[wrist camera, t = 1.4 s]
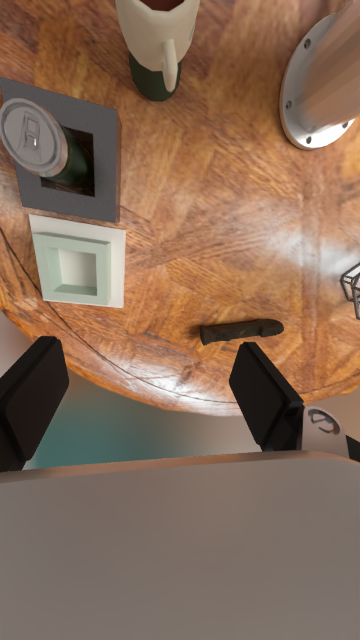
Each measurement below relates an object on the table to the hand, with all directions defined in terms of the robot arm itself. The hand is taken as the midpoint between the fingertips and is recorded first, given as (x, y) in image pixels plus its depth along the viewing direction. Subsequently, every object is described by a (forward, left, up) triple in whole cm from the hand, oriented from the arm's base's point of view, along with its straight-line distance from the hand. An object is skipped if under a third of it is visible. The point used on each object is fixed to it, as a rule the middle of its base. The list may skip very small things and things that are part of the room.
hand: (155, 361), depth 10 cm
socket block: (-11, -12, -28) cm, 33 cm away
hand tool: (+12, +21, -28) cm, 37 cm away
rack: (+3, -12, -28) cm, 31 cm away
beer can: (-11, -12, -28) cm, 33 cm away
